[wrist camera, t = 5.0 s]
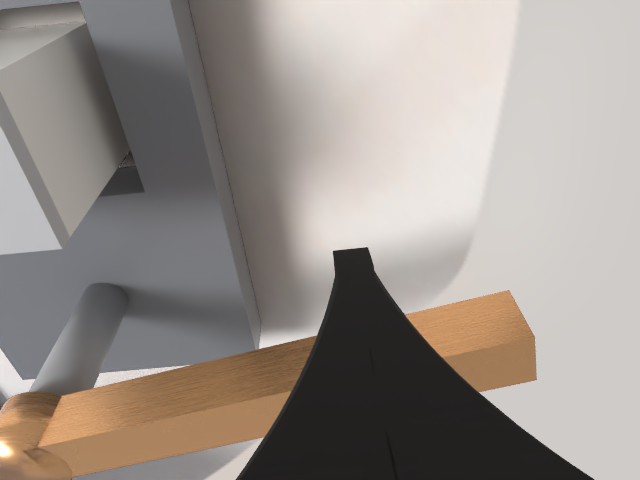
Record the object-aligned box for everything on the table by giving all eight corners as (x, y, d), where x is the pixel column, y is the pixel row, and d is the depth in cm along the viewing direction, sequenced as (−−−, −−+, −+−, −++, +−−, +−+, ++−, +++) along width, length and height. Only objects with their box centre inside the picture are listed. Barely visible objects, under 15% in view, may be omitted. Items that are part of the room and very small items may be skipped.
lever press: (260, 324, 21) (248, 470, 16) (43, 343, 22) (-45, 495, 16) (136, -225, 11) (-29, -360, 5) (-282, -178, 11) (-857, -260, 6)
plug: (132, 145, 16) (62, 248, 11) (18, 156, 16) (-102, 264, 11) (90, 20, 14) (-23, 82, 9) (-43, 34, 14) (-225, 102, 9)
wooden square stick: (37, 448, 14) (13, 499, 13) (-17, 402, 13) (-50, 454, 12) (513, 343, 12) (537, 391, 11) (507, 276, 11) (533, 322, 10)
